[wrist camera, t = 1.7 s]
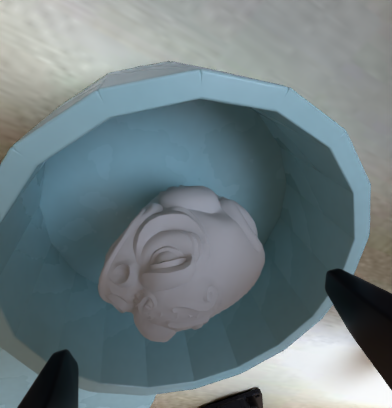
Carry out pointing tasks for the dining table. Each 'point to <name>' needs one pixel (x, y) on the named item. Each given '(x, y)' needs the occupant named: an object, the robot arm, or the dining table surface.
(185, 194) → the grey carved lump
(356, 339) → the robot arm
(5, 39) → the dining table surface
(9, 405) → the lid
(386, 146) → the dining table surface
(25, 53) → the dining table surface
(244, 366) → the pot
